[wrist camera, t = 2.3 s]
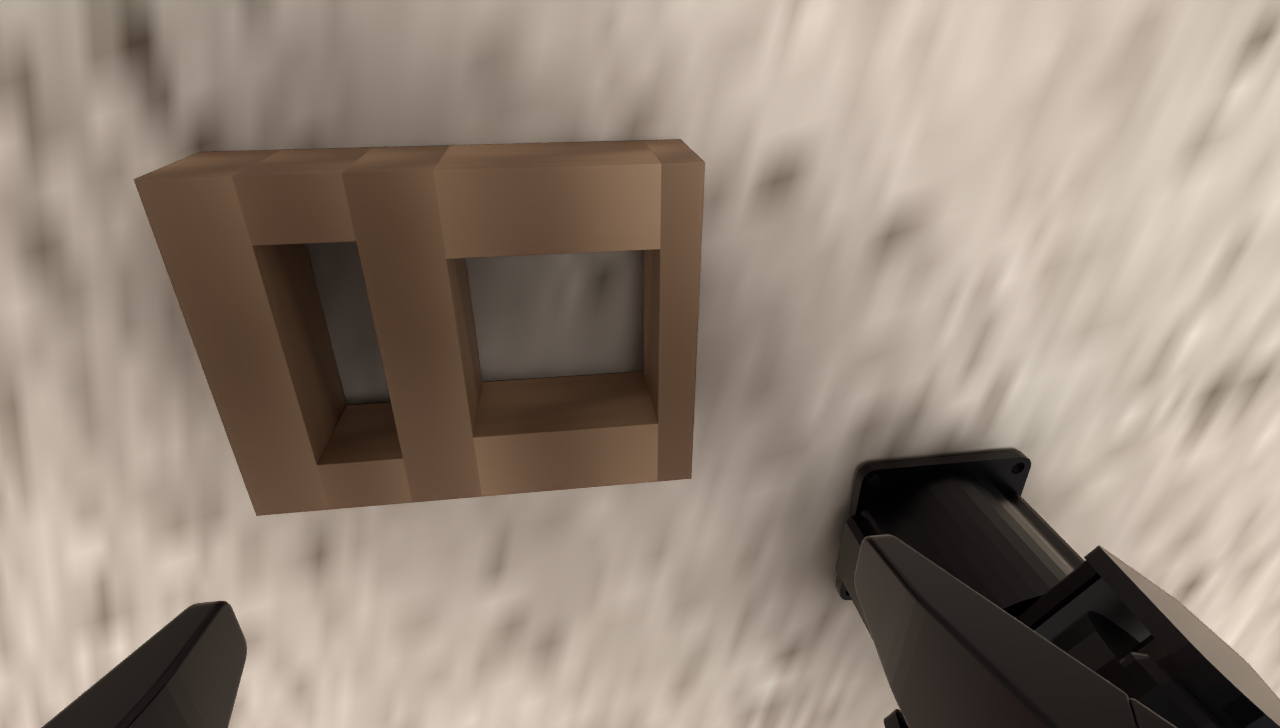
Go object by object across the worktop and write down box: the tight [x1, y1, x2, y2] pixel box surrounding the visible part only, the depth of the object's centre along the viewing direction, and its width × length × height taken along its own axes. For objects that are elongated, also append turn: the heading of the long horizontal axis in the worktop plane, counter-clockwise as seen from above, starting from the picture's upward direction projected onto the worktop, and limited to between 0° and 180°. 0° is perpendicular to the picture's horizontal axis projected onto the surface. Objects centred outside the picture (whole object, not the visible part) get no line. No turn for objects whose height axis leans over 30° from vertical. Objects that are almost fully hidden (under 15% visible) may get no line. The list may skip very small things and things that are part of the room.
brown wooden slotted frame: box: [134, 139, 705, 516], centre depth 18 cm, size 12×9×3 cm
